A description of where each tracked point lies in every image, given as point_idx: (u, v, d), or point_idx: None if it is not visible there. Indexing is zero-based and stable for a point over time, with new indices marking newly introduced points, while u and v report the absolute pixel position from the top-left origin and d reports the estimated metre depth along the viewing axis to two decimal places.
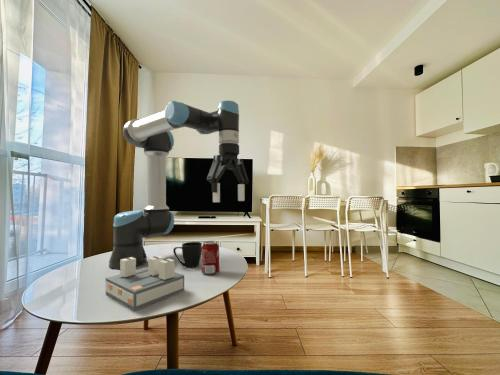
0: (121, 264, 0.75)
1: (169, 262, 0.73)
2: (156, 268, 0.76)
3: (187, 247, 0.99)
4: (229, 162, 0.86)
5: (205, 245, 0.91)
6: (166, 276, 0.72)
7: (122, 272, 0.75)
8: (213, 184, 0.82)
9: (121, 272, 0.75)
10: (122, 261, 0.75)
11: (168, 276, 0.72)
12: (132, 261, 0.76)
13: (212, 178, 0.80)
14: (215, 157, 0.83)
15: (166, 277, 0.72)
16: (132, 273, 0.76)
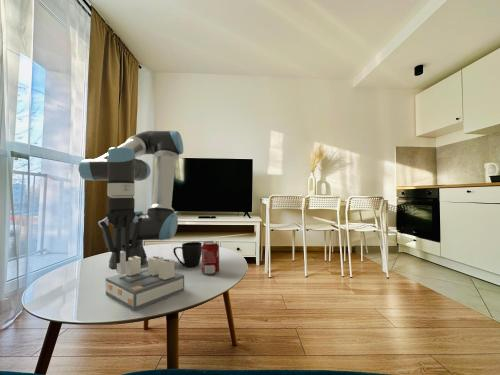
0: (126, 263, 0.77)
1: (169, 262, 0.73)
2: (156, 268, 0.76)
3: (187, 247, 0.99)
4: (119, 221, 0.73)
5: (205, 245, 0.91)
6: (166, 276, 0.72)
7: (127, 271, 0.76)
8: (115, 254, 0.73)
9: (126, 271, 0.76)
10: None
11: (168, 276, 0.72)
12: (137, 260, 0.77)
13: (111, 250, 0.71)
14: (99, 225, 0.70)
15: (166, 277, 0.72)
16: (137, 272, 0.77)
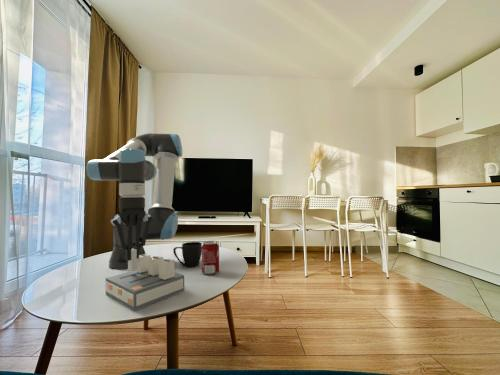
0: None
1: (169, 262, 0.73)
2: (156, 268, 0.76)
3: (187, 247, 0.99)
4: (131, 220, 0.76)
5: (205, 245, 0.91)
6: (166, 276, 0.72)
7: (138, 268, 0.79)
8: (126, 252, 0.76)
9: None
10: None
11: (168, 276, 0.72)
12: (146, 258, 0.80)
13: (123, 247, 0.74)
14: (112, 223, 0.73)
15: (166, 277, 0.72)
16: (147, 269, 0.80)
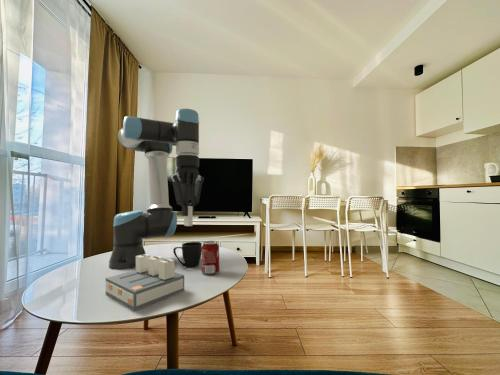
0: (137, 260, 0.79)
1: (169, 262, 0.73)
2: (156, 268, 0.76)
3: (187, 247, 0.99)
4: (188, 177, 0.79)
5: (205, 245, 0.91)
6: (166, 276, 0.72)
7: (138, 268, 0.79)
8: (183, 207, 0.79)
9: (137, 268, 0.79)
10: (138, 257, 0.79)
11: (168, 276, 0.72)
12: (147, 258, 0.80)
13: (182, 202, 0.77)
14: (172, 179, 0.76)
15: (166, 277, 0.72)
16: (147, 269, 0.80)
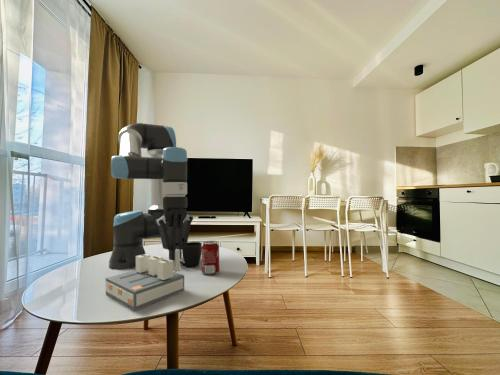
0: (137, 260, 0.79)
1: (168, 262, 0.73)
2: (156, 268, 0.76)
3: (187, 247, 0.99)
4: (175, 219, 0.74)
5: (205, 245, 0.91)
6: (165, 276, 0.72)
7: (138, 268, 0.79)
8: (170, 252, 0.75)
9: (137, 268, 0.79)
10: (138, 257, 0.79)
11: (167, 276, 0.72)
12: (147, 258, 0.80)
13: (168, 247, 0.73)
14: (157, 223, 0.72)
15: (165, 277, 0.72)
16: (147, 269, 0.80)
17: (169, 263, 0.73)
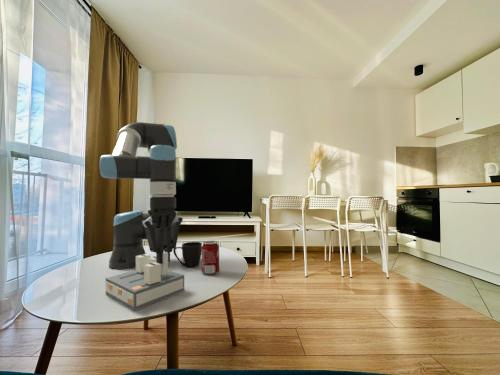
0: (137, 260, 0.79)
1: (155, 266, 0.69)
2: None
3: (187, 247, 0.99)
4: (163, 221, 0.71)
5: (205, 245, 0.91)
6: (151, 281, 0.68)
7: (138, 268, 0.79)
8: (158, 255, 0.71)
9: (137, 268, 0.79)
10: (138, 257, 0.79)
11: (154, 281, 0.69)
12: (147, 258, 0.80)
13: (155, 250, 0.70)
14: (144, 225, 0.68)
15: (151, 282, 0.68)
16: None
17: (156, 267, 0.69)
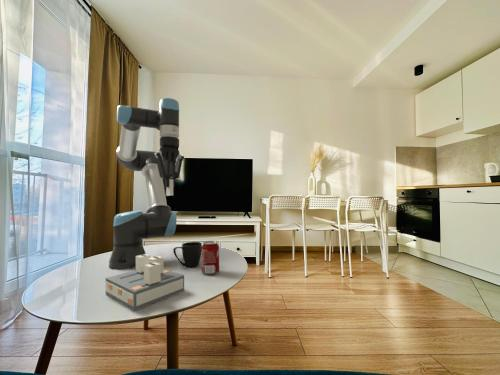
0: (137, 260, 0.79)
1: (155, 266, 0.69)
2: None
3: (187, 247, 0.99)
4: (169, 154, 0.95)
5: (205, 245, 0.91)
6: (151, 281, 0.68)
7: (138, 268, 0.79)
8: (165, 180, 0.95)
9: (137, 268, 0.79)
10: (138, 257, 0.79)
11: (153, 281, 0.69)
12: (147, 258, 0.80)
13: (164, 175, 0.94)
14: (155, 156, 0.93)
15: (151, 282, 0.68)
16: None
17: (156, 267, 0.69)
